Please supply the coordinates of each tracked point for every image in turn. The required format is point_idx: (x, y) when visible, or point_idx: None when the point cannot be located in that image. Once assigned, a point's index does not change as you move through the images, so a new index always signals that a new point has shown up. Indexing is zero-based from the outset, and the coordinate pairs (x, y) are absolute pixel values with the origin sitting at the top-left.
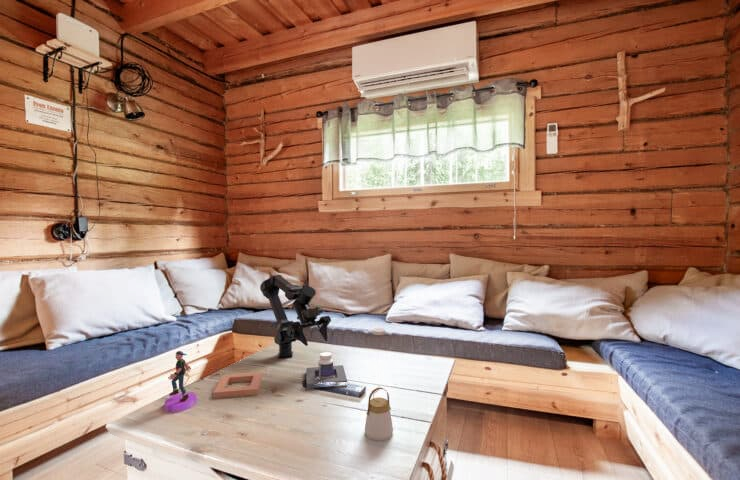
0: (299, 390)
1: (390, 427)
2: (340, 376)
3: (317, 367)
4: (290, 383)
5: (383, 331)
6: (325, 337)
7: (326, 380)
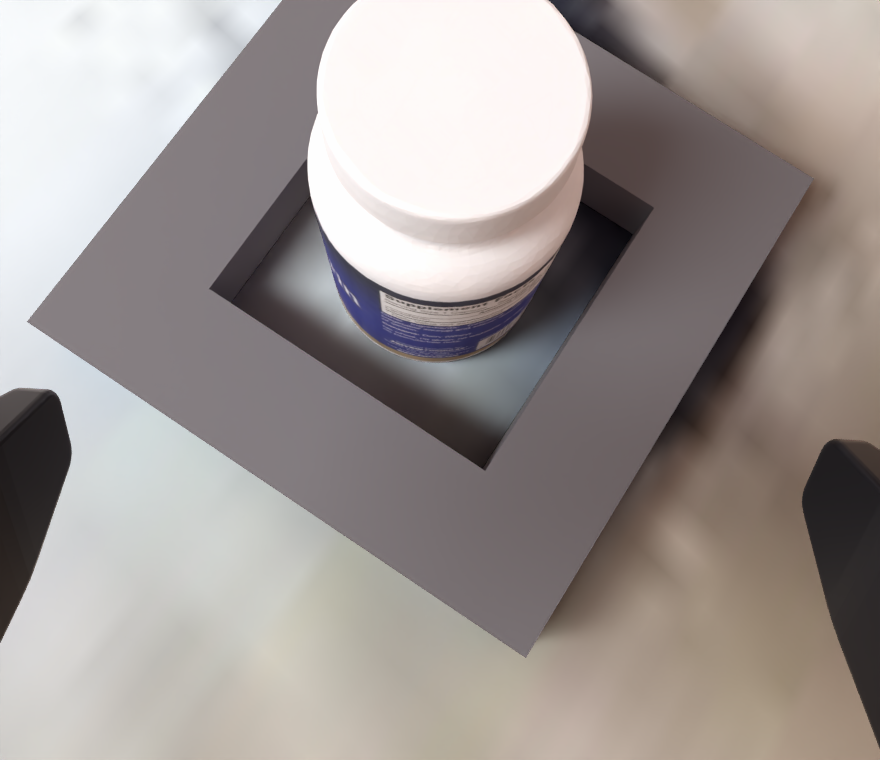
0: (858, 241)
1: None
2: None
3: (383, 537)
4: None
5: None
6: (7, 468)
7: None
